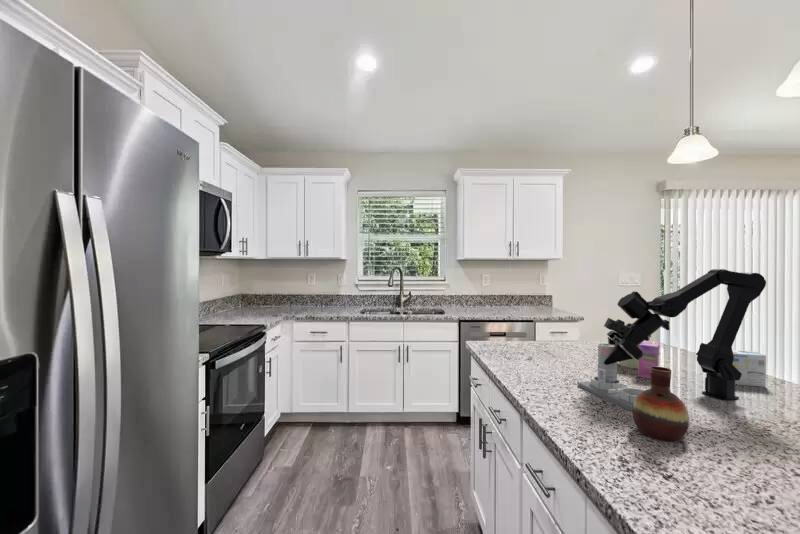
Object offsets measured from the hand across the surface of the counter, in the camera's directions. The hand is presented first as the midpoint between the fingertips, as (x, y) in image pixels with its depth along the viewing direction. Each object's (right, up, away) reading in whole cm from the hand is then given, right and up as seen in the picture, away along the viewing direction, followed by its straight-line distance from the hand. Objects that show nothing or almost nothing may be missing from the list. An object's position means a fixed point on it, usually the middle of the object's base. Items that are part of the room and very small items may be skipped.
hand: (602, 361), depth 122 cm
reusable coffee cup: (+28, -9, +31) cm, 43 cm away
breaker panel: (+2, -9, -6) cm, 11 cm away
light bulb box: (+53, -10, +10) cm, 55 cm away
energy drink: (+1, -7, 0) cm, 7 cm away
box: (+26, -9, +17) cm, 33 cm away
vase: (-4, -9, -32) cm, 33 cm away
